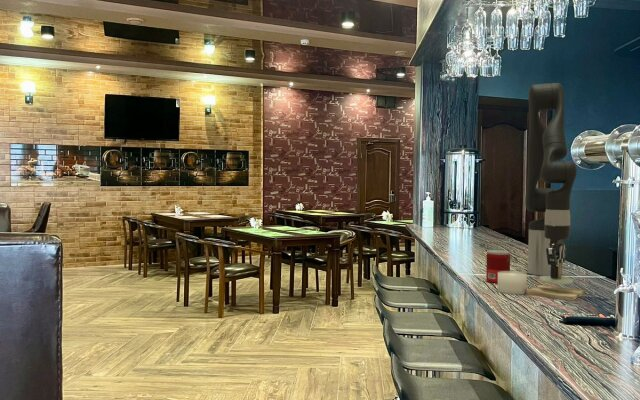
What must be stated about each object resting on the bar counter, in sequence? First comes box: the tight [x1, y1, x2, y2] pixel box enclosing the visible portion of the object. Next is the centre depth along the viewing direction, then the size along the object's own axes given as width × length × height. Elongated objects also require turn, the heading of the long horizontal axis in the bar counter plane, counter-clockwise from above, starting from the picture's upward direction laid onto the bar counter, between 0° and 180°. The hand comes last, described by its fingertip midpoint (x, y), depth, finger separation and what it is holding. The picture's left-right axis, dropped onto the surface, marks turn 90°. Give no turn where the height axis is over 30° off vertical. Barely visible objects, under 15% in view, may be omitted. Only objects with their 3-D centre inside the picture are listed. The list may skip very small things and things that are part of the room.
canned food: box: [485, 249, 511, 285], centre depth 197 cm, size 8×8×11 cm
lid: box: [538, 263, 574, 285], centre depth 177 cm, size 10×10×6 cm
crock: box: [497, 270, 528, 295], centre depth 180 cm, size 9×9×6 cm
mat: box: [525, 284, 586, 301], centre depth 177 cm, size 14×14×1 cm
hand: (556, 277), depth 177 cm, fingers closed on lid, 3 cm apart
